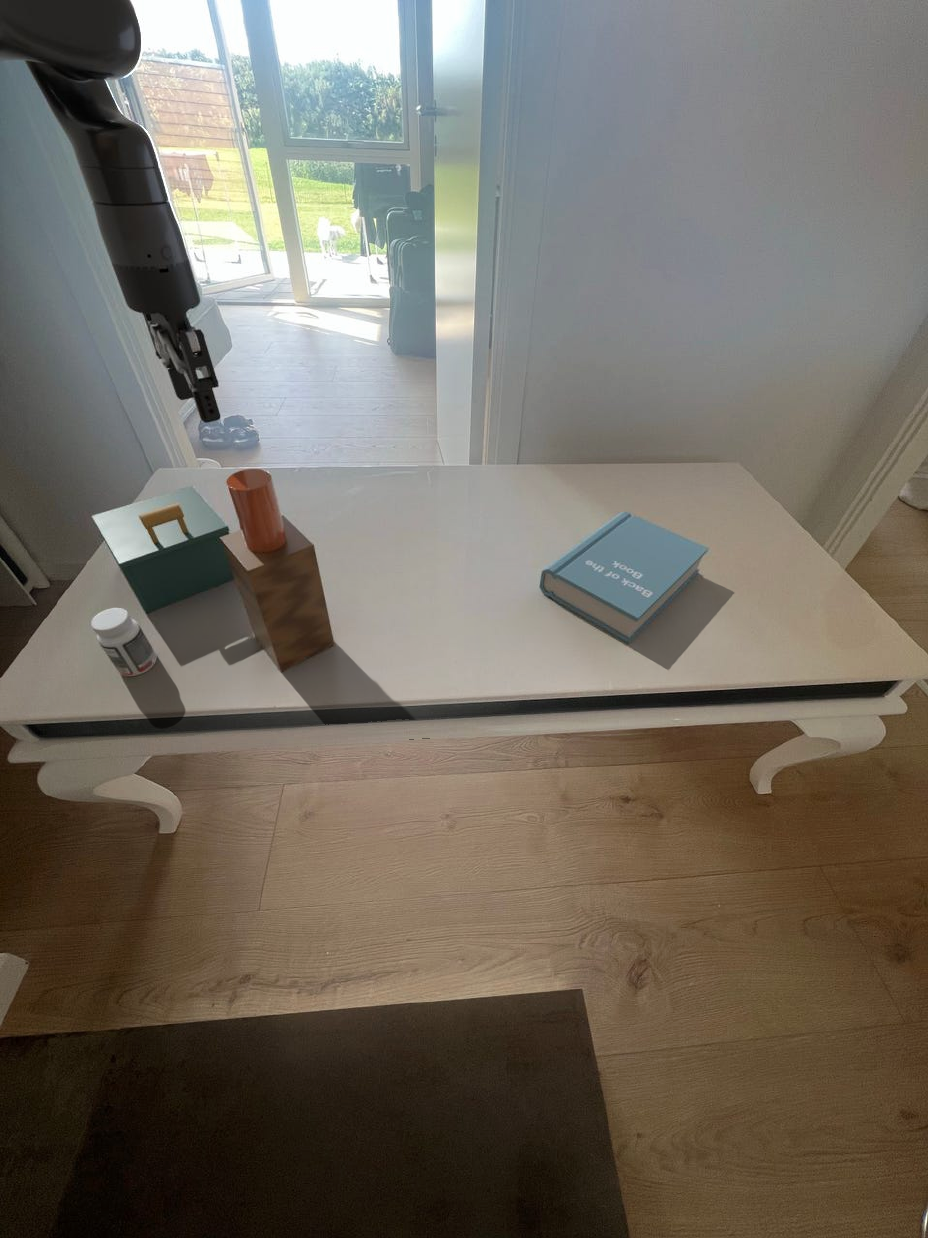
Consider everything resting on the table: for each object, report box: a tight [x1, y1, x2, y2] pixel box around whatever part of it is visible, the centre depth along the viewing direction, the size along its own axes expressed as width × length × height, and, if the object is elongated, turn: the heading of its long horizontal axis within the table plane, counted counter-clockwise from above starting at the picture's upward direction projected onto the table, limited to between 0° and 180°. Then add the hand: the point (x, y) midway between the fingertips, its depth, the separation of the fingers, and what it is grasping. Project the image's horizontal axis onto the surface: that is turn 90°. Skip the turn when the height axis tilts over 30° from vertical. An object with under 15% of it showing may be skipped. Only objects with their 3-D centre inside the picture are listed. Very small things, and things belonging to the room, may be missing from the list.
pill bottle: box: [90, 607, 158, 677], centre depth 66 cm, size 5×5×8 cm
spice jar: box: [225, 468, 287, 553], centre depth 58 cm, size 5×5×8 cm
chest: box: [94, 522, 235, 615], centre depth 80 cm, size 14×15×9 cm
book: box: [538, 510, 710, 644], centre depth 82 cm, size 23×16×5 cm
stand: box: [220, 514, 335, 673], centre depth 67 cm, size 8×8×17 cm
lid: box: [91, 485, 230, 570], centre depth 75 cm, size 14×15×5 cm
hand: (198, 408), depth 66 cm, fingers open, 8 cm apart
